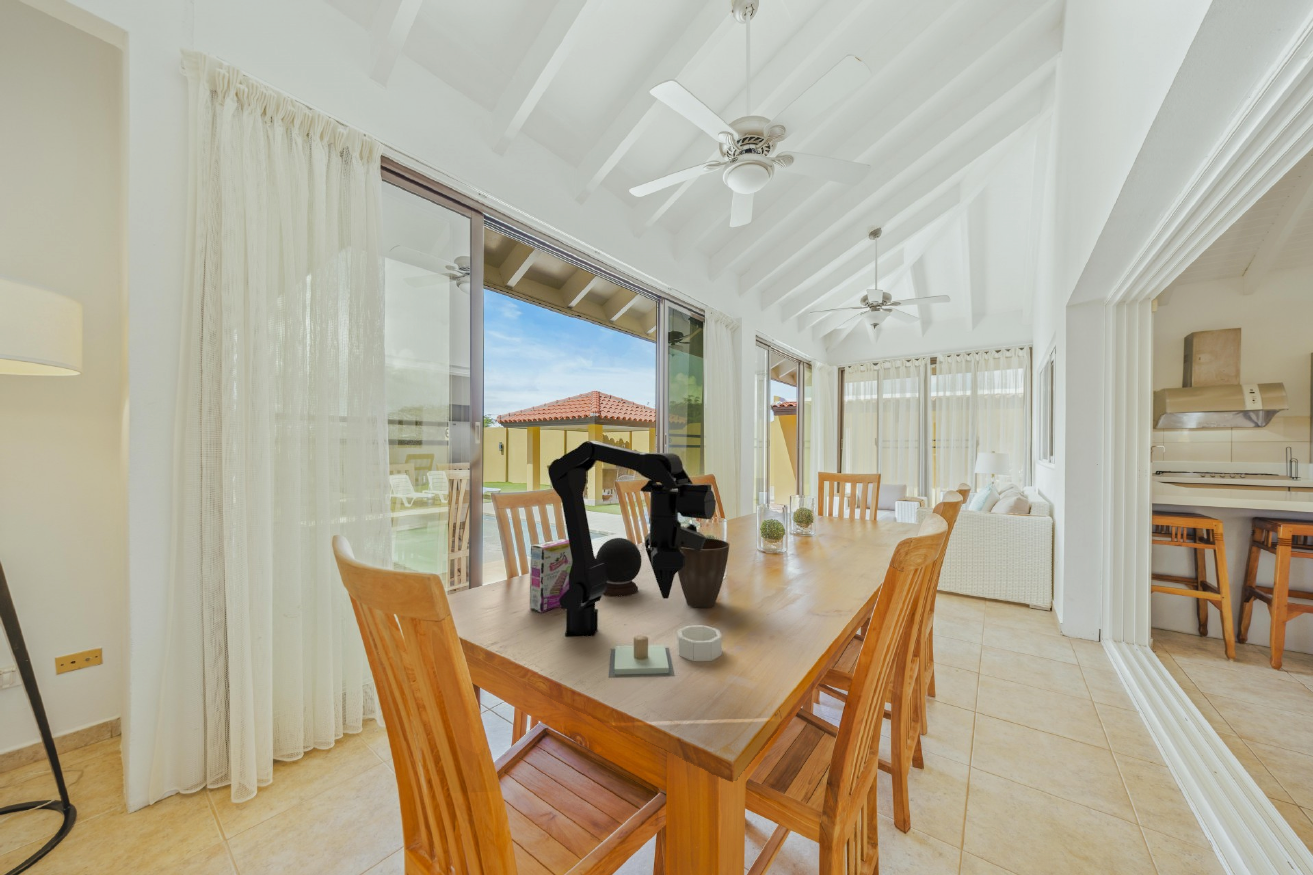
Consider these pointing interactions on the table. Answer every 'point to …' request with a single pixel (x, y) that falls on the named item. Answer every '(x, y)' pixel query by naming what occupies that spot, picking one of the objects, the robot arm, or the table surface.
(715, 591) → the plant pot
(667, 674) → the mat
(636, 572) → the black ball on stand
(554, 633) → the table surface
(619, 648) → the lid
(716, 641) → the bowl
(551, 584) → the candy bar box
